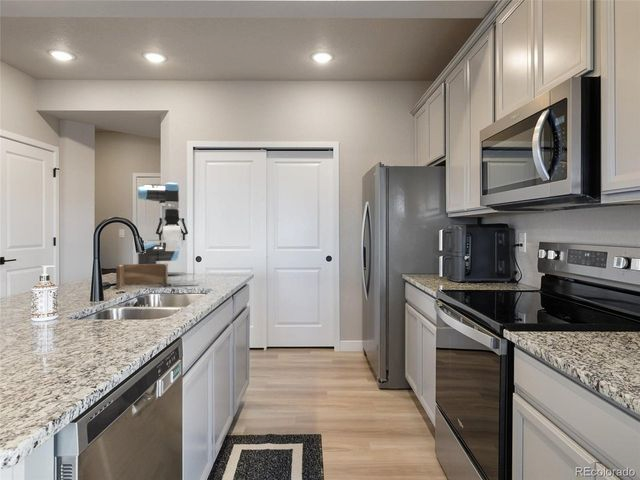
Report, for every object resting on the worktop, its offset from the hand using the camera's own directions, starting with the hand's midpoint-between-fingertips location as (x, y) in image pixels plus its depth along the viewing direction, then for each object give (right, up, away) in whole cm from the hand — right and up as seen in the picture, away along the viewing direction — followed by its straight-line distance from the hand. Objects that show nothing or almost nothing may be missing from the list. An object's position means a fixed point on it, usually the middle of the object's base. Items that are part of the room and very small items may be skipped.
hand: (172, 246), depth 223 cm
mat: (+7, -23, +3) cm, 24 cm away
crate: (-15, -23, -4) cm, 28 cm away
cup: (0, -3, 0) cm, 3 cm away
